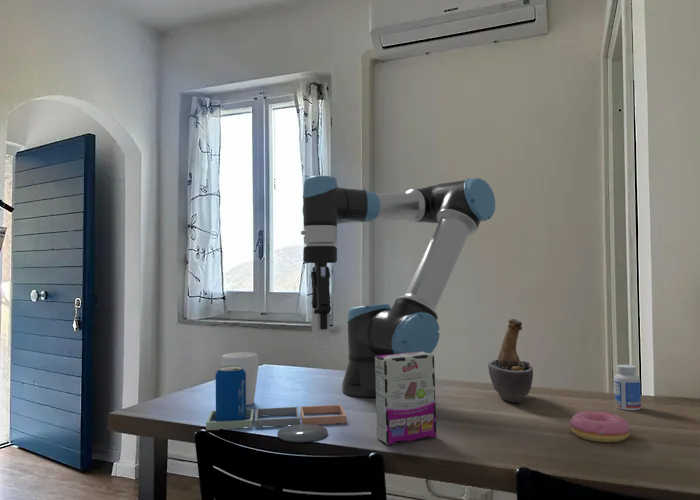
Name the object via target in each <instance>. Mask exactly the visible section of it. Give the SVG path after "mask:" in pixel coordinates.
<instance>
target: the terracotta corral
mask: <svg viewBox="0 0 700 500" xmlns="http://www.w3.org/2000/svg"><path fill="white" fill-rule="evenodd" d="M330 413H331V414H332V413H338V414H339V415H321V416H305V415H310V414H311V415H312V414H314V415H315V414H330ZM346 414H347V413H346V412H345V410H344V408H343V406H342V404H332V405H331V404H328V405H308V406H300V407H299V416H300V422H301V424H312V425H318V424H321V425H335V424H336V423H341V424H347V415H346Z"/></svg>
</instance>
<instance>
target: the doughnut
mask: <svg viewBox="0 0 700 500" xmlns="http://www.w3.org/2000/svg"><path fill="white" fill-rule="evenodd" d="M568 421H569V425H570V429H571V432H572V433H573V434H574V435H576V437H578V438H580V437H581V438H580V439H583V440H587V441H589V440H590V442H594V441H595V443H602V442H608V443H607V444H610V442H615V443H619V442H620V441H621V442H623V441H625V440H626V439H628V437H629V436H630V431H631V428H630V427H631V426H630V424H629V422H628V421H627V420H626V419H625V418H624V417H621V416H620V415H617V414H613V413H611V412H607V411H606V412H603V411H594V410H593V411H591V410H588V411H587V410H585V411H580V412H578V413H575V414H573V415H572V417H571V418H570V420H568Z"/></svg>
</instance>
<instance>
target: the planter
mask: <svg viewBox="0 0 700 500" xmlns="http://www.w3.org/2000/svg"><path fill="white" fill-rule="evenodd" d="M522 325H523V323H522V321H520V320H518V319H516V318H513V319H512V318H511V319H508V325H507V326H508V327H507V329H506V331H505V334H504V337H503V339H502V343H501V346H500V351H499V353H498V357H497V359H494V360H491V361H489V362H488V374H489V377H490V380H491V383H492V386H493V389H494V391H496V392H497V393H498V395H499V397H500V398H502V400H504V401H506V402H508V403H515V404H519V403H521V402H523V401H524V400H525V399H526V397H527V396H528V395H529V393H530V391H531V389H532V385H533V377H534V371H533V370H534V368H533V367H532V366H531V365H530V362H528V361H526V360H524V361H522V360H520V357H519V355H518V353H517V342H518V337H519V334H520V331H521V330H522V329H523V326H522Z"/></svg>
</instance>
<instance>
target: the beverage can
mask: <svg viewBox="0 0 700 500" xmlns="http://www.w3.org/2000/svg"><path fill="white" fill-rule="evenodd" d="M243 368H244V367H243V366H238V365H230V366H222V365H221V366H219V367H217V371H216V372H215V411H216V418H215V422H216V421H237V420H247V417H246V409H247V406H246V372H245V371H244V369H243Z"/></svg>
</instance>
